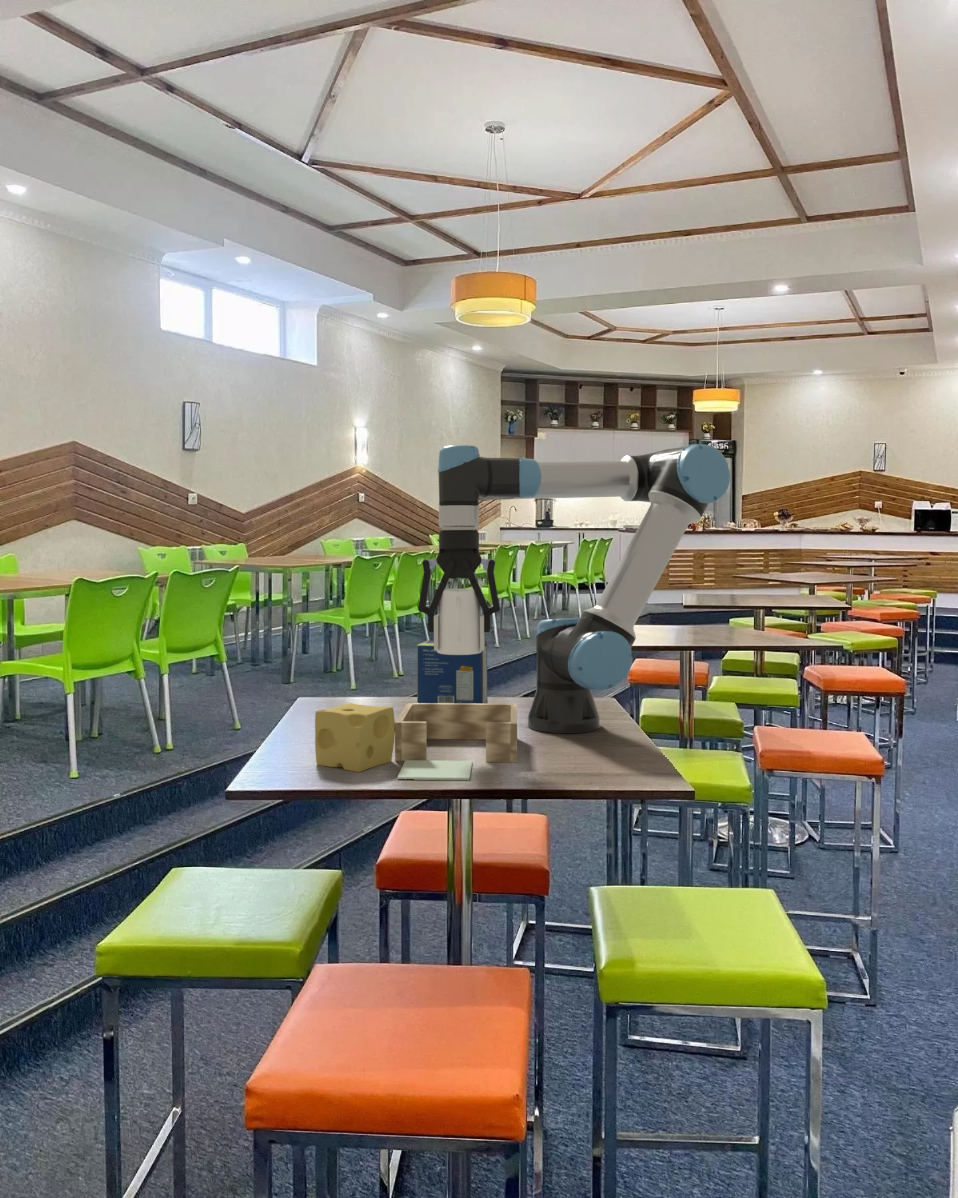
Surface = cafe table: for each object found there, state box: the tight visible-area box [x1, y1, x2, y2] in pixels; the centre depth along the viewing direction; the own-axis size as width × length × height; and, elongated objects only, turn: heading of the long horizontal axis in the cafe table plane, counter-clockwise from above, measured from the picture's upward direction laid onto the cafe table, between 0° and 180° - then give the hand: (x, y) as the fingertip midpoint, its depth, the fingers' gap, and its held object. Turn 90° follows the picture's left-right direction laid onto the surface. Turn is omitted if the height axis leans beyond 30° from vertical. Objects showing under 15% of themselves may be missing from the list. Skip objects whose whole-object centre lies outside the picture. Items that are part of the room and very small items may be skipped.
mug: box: [437, 588, 482, 655], centre depth 180 cm, size 12×8×12 cm
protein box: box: [416, 639, 489, 704], centre depth 224 cm, size 10×15×16 cm
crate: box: [394, 702, 518, 763], centre depth 181 cm, size 22×20×7 cm
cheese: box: [314, 703, 396, 773], centre depth 171 cm, size 10×11×10 cm
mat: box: [396, 759, 473, 781], centre depth 165 cm, size 12×12×1 cm
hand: (459, 649), depth 180 cm, fingers closed on mug, 8 cm apart
